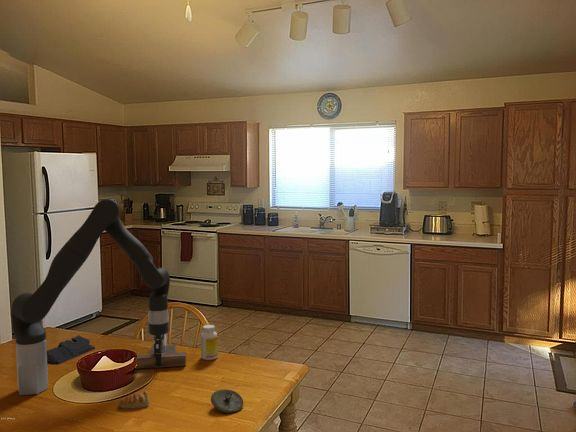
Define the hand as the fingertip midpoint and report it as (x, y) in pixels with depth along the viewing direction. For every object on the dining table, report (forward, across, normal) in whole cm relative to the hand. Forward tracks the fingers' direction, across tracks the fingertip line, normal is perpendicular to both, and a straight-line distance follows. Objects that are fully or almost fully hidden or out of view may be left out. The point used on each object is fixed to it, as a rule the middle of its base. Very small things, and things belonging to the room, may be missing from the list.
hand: (159, 363), depth 188 cm
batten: (+1, 0, 0) cm, 1 cm away
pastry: (+2, -31, +4) cm, 32 cm away
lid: (+1, -38, -25) cm, 45 cm away
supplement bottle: (+1, +6, -19) cm, 20 cm away
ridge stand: (+1, +13, 0) cm, 13 cm away
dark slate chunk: (+2, +21, +40) cm, 45 cm away
